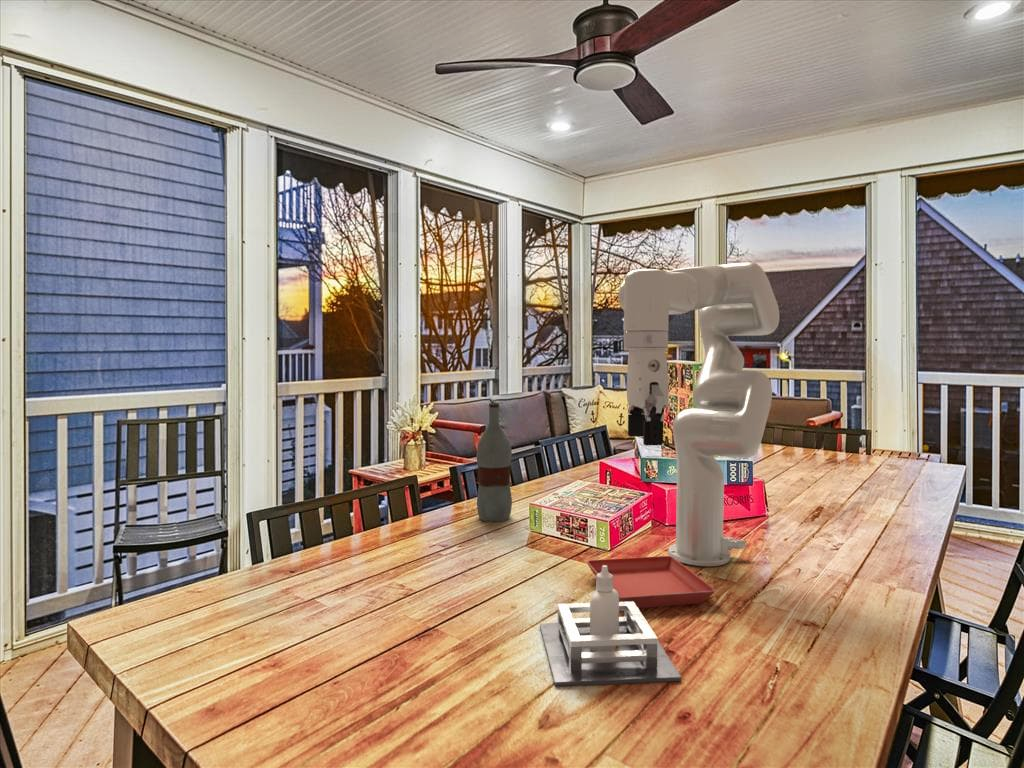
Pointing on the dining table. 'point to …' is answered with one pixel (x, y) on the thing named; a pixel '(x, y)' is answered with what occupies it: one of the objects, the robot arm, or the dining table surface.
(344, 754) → the dining table surface
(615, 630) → the eye dropper bottle
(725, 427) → the robot arm
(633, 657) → the collar stand
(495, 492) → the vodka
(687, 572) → the plant saucer
